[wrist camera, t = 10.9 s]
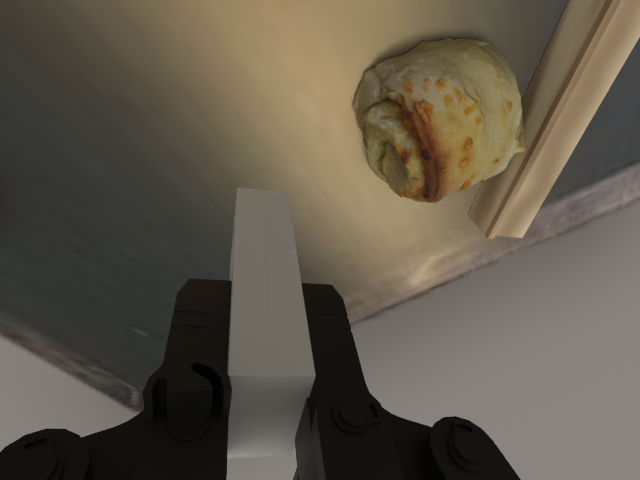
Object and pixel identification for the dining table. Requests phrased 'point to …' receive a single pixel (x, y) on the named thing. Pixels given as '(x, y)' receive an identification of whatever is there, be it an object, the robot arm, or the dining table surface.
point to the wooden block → (558, 109)
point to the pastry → (440, 118)
